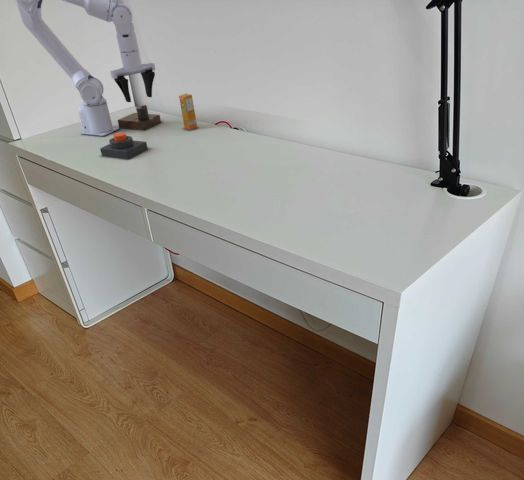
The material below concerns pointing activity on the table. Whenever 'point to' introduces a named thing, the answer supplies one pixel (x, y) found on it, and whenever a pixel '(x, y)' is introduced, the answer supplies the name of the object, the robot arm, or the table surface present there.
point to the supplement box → (188, 111)
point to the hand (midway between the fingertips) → (139, 99)
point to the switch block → (123, 148)
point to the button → (120, 137)
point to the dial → (142, 112)
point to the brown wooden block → (138, 122)
